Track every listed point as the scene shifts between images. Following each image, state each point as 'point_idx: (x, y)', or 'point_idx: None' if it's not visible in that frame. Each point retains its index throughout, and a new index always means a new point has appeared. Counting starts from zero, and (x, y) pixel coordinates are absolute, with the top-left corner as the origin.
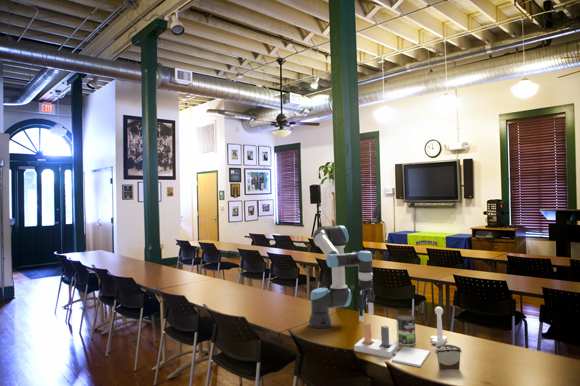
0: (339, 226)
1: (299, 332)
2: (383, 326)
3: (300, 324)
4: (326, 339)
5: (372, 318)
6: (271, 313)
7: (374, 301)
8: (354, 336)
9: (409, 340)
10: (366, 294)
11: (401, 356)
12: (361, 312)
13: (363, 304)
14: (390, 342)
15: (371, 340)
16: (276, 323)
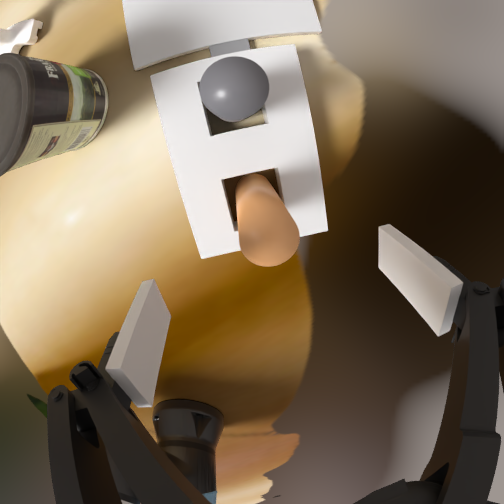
0: None
1: (278, 415)
2: (227, 103)
3: (227, 436)
4: (279, 355)
5: (27, 345)
6: (220, 471)
7: (80, 375)
8: (178, 313)
9: (83, 70)
10: (485, 496)
11: (261, 11)
12: (460, 276)
13: (496, 329)
14: (169, 110)
15: (249, 183)
16: (261, 452)
